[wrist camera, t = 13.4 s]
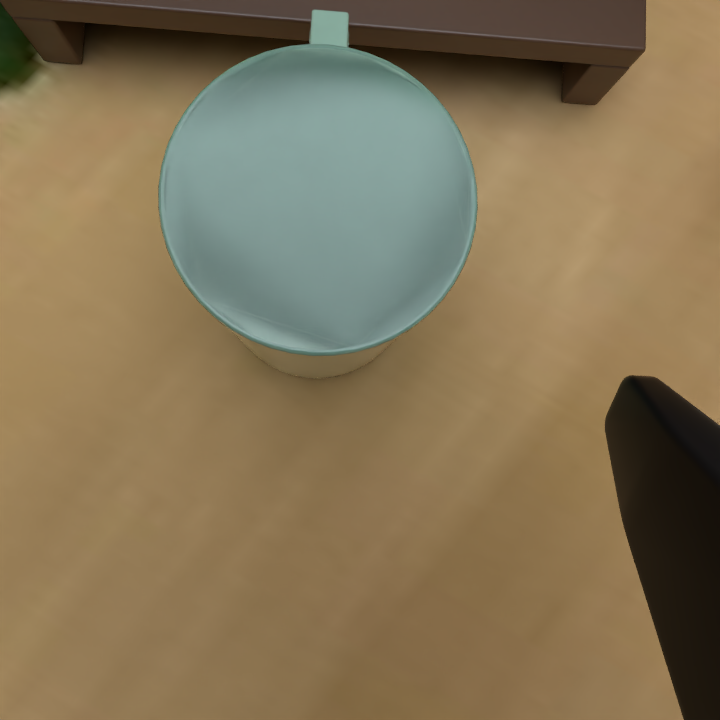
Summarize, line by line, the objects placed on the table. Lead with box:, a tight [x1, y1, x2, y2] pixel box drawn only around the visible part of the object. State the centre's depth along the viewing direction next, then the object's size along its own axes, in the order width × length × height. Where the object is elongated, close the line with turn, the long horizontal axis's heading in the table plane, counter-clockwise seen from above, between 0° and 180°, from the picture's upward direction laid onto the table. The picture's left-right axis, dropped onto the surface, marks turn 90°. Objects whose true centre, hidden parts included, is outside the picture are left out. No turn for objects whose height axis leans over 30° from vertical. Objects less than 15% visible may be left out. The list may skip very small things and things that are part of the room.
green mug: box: [158, 9, 478, 379], centre depth 17 cm, size 8×6×9 cm
